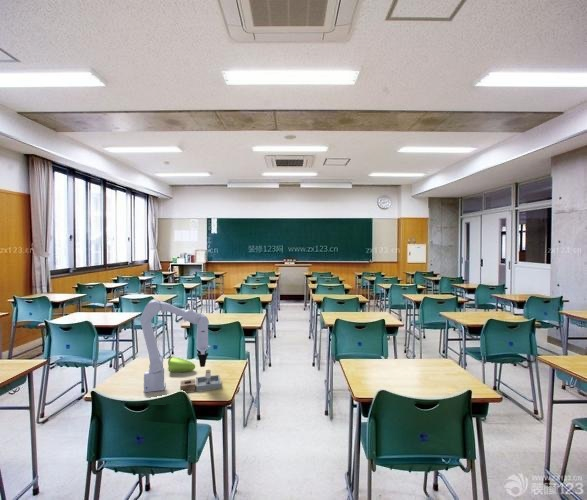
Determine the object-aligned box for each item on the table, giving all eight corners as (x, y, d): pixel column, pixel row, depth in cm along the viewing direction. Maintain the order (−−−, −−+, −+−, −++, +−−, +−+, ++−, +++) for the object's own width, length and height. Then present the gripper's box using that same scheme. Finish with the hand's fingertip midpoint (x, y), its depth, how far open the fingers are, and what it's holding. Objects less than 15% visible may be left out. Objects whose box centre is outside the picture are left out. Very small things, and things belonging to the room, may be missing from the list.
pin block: (180, 392, 163) (180, 386, 163) (180, 386, 170) (180, 380, 170) (195, 390, 166) (195, 384, 166) (194, 384, 172) (194, 379, 172)
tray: (196, 391, 164) (196, 386, 164) (195, 382, 176) (195, 377, 176) (221, 388, 168) (221, 383, 168) (219, 379, 179) (219, 374, 179)
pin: (205, 385, 170) (205, 371, 170) (205, 383, 173) (205, 370, 172) (210, 384, 171) (210, 371, 171) (210, 383, 173) (210, 369, 173)
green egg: (158, 356, 188) (191, 361, 185) (169, 354, 200) (200, 358, 197) (155, 371, 187) (189, 376, 184) (166, 368, 199) (198, 372, 196)
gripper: (211, 341, 170) (211, 368, 170) (209, 334, 184) (209, 359, 184) (196, 342, 168) (196, 369, 168) (196, 335, 182) (196, 360, 182)
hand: (202, 364), depth 176 cm, fingers open, 7 cm apart
